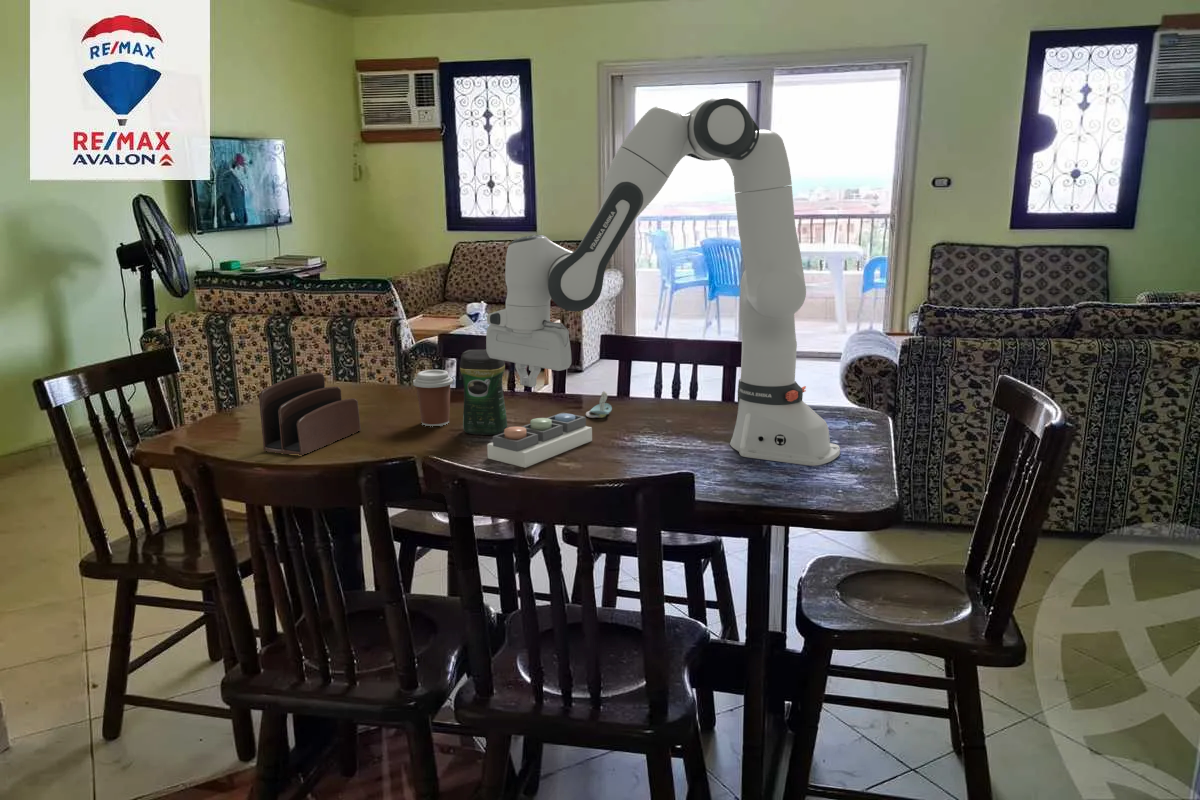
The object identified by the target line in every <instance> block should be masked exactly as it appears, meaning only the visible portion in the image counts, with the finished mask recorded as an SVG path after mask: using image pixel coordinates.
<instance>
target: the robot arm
mask: <svg viewBox="0 0 1200 800" xmlns="http://www.w3.org/2000/svg"><path fill="white" fill-rule="evenodd" d="M685 157H690V158H693V159H696V160H700V161H709V162H711V161H719V160H724V161H725V162H726V163H727V164H728V166H729V168H730V170H731V173H732V177H733V188H734V199H735V208H736V218H737V229H738V237H739V241H740V245H741V246H740V247H741V251H742V258H743V263H744V271H743V274H742V276H741V280H740V322H741V323H740V324H741V358H740V359H741V360H740V361H741V362H740V364H741V365H740V378H739V379H738V385H737V405H738V409H737V417H736V421H735V426H734V430H733V434H732V436H731V440H730V443H729V444H730V446H731V448H733V449H734V450H736V451H737V452H739V455H740V456H741V457H744V458H751V459H758V460H767V461H772V462H773V461H775V462H781V463H789V464H796V465H801V466H811V467H812V466H821V465H825V464H827V463H830V462H832V461H834V460H835V459H837V458H838V457H839V456H840V454H841V448H840V446H839V445H838V444H835V443H831V442H830V440H831V439H830V431H829V425H828V423H827V422H826V421H825V419H823V418H822V417H821V416H820V415H819V414H818V413H816V412H815V411H814V410H813V409H812V408H811V407H810V406H809V405H808V404H806V402H804V401H803V397H804V393H805V392H807V390H806V389H807V386H805V385H804V386H802V387H801V386H800V385H799V384H798V383H797V381H796V366H797V348H798V347H797V346H798V342H797V336H796V335H797V334H796V322H795V314H796V313H797V312H798V311H799V310H800V309H801V308H802V307H803V305H804V303H805V300H806V298H807V287H806V281H805V273H804V267H803V266H804V265H803V260H802V253H801V250H800V249H801V248H800V244H799V243H800V242H799V239H798V233H797V228H796V217H795V208H794V198H793V197H794V196H793V195H794V194H793V185H792V184H793V183H792V175H791V167H790V162H789V158H788V154H787V150H786V146H785V142H784V140H783V138H782V137H781V136H780V135H779V134H778V133H777V132H774V131H772V130H768V129H760V128H759V126H758V124H757V123H756V121H755V120H754V119H753V117H752V116H751V114H750V112H749V110H748V109H747V108H746V107H745V106H744V104H743V103H742V102H740V101H739V100H738V99H736V98H734V97H732V96H731V97H730V96H725V95H722V96H720V95H719V96H715V97H713V98H710V99H707V100H705V101H703V102H701V103H699V104H698V105H697V106H696V107H695V108H694V109H692V110H690V111H689V112H687V113H685V114H682V113H679V112H678V111H676V110H675V109H673V108H671V107H668V106H661V105H659V106H654V107H652V108H650V109H648V111H646V113H645V114H644V115H643V116H642V117H641V118H640V119H639V121H637V123H636V124H635V125H634V127H633V128H632V129H631V131H630V132H629V133H628V134H627V136H626V137H625V138H624V140H623V142H622V143H621V144H620V147H619V148H618V150H617V151H616V153H615V155H614V157H613V159H612V160H611V163H610V166H609V168H608V170H607V172H606V175H605V178H604V186H603V187H604V189H603V190H604V191H603V197H602V202H601V206H600V208H599V211H598V213H597V215H596V216H595V217H594V219H593V221H592V223H591V225H590V226H589V228H588V230H587V232H586V233H585V235H584V237H583V238H582V240H581V242H580V243H579V244H578V246H577V248H576V249H575V250H574V251H573V250H569V249H567V248H565V247H563V246H561V245H559V244H557V243H555V242H553V241H552V240H550V239H549V238H548V237H547V236H546V235H542V234H535V235H534V234H533V235H526V236H522V237H517V238H516V239H514V240H512V241H511V242H510V243H509V245H508V247H507V249H506V256H505V274H504V275H505V286H506V289H507V295H506V298H505V308H503V309H500V310H497V311H494V312H490V313H488V314H486V323H487V324H489V325H488V326H487V329H486V334H485V335H486V337H485V338H486V339H485V341H486V344H485V347H486V349H485V350H487V354H488V356H489V357H490V358H493V359H498V360H503V361H504V362H509V363H514V364H515V366H514V368H515V370H516V373H517V374H518V377H519V384H520V385H521V386H523V387H524V386H525V387H529V388H533V387H536V386H537V378H538V376H539V374H540V372H541V370H542V369H545V370H546V369H547V370H551V371H558V372H559V371H565V370H567V369H569V368H570V366H572V350H571V342H570V332H569V329H568V328H567V327H566V326H565V325H564V324H563V323H561V322H554V321H551V300H552V301H553V302H554V303H555V304H556V306H558V307H559V308H561V309H562V310H565V311H568V312H569V311H570V312H581V311H582V312H583V311H585V310H588V309H590V308H591V307H592V306H593V305H595V303H596V302H597V301H598V300H599V298H600V296H601V294H602V289H603V285H604V277H605V272H606V269H607V266H608V264H609V262H610V261H611V259H612V257H613V256H614V253H615V252H616V250H617V249H618V247H619V246H620V243H621V242H622V240H623V239H624V237H625V235H626V233H627V232H628V230H629V228H630V227H631V225H632V224H633V223H634V222H635V221H636V220H637V218H638V217H639V216H640V215H641V213H643V211H644V210H645V209H646V208H647V207H648V206H649V205H650V203H651V202H652V201H653V200H654V199H655V197H657V195H658V194H659V192H660V191H661V190H662V188H663V187H664V185H666V183H667V181H668V180H669V178H670V176H671V174H672V173H673V171H674V169H675V167H676V166H677V165H678V164H679V163H680V161H681V160H682V159H683V158H685ZM527 368H528V370H529V371H530V373H529V374H528V371H527Z"/></svg>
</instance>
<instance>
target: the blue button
mask: <svg viewBox="0 0 1200 800" xmlns="http://www.w3.org/2000/svg"><path fill="white" fill-rule="evenodd" d="M557 414H558V415H557ZM557 414H554V415H555V420H557V421H562V422H570V421H573V420H575V415H576V414H572V413H568V414H560V413H557Z"/></svg>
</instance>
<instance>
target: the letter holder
mask: <svg viewBox="0 0 1200 800" xmlns="http://www.w3.org/2000/svg"><path fill="white" fill-rule="evenodd" d="M258 399H259V413H260V423H261V434H262V444H263V452H264V451H268V452H267V453H269V452H276V453H283V454H282V455H284V454H299V455H303V454H306V453H309V452H311V453H313V452H312V451H314V450H316V451H318V450H317V449H319V448H321V449H323V448H325V447H324V446H326V445H328V444H330V443H332V442H335V441H337V440H339V441H341V440H340V439H342V438H344V439H346V438H348V437H347V436H349V435H351V434H353V433H356V432H358V431H360V430H361V431H362V428H361V420H360V419H361V418H360V411H359V403H358V400H357V399H356V398H345V399H342V390H341V388H340V386H327V387H326V383H325V376H324V374H323V373H322V372H311V373H304V374H300V375H296V376H292V377H290V378H286V379H284V380H281V381H278V382H277V383H273V384H272V385H270V386H267V387H265V388H264V389H262V390H261V391H260V393H259V395H258ZM361 431H360V432H361ZM358 433H359V432H358ZM356 434H357V433H356ZM353 435H354V434H353ZM351 436H352V435H351ZM345 437H346V438H345ZM349 437H350V436H349ZM342 440H343V439H342ZM337 442H338V441H337ZM335 443H336V442H335ZM332 444H333V443H332ZM330 445H331V444H330ZM328 446H329V445H328ZM322 447H323V448H322ZM326 447H327V446H326ZM319 450H320V449H319ZM314 452H315V451H314ZM276 453H275V454H276ZM309 454H310V453H309Z"/></svg>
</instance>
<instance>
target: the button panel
mask: <svg viewBox="0 0 1200 800" xmlns="http://www.w3.org/2000/svg"><path fill="white" fill-rule="evenodd" d="M558 414H569V413H567V412H560V413H557V414H554V415H552V416H548V417H547V418H548V419H551V420H552V428H550V429H548V430H545V431H539V430H535V429H531V424H530V423H527V424H524V425H522V426H521V427H524V428H526V435H527V437H525V438H523V439H520V440H512V439H507V438H505V437H504V432H502V433H498V434H494V435H493V436H492V442H489V443H487V459H489V460H493V461H498V462H501V463H505V464H509V465H513V466H516V467H521V468H528V467H531V466H533V465H535V464H538V463H540V462H543V461H546V460H548V459H550V458H553V457H556V456H558V455H560V454H562V453H565V452H568V451H570V450H572V449H576V448H577V447H581V446H582V445H585V444H588V443H591V442H593V427H592V426H587V418H586V417H587V416H583V415H578V414H574V415H575V420H573V421H570V422H562V421H557V420H555V415H558Z"/></svg>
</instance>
